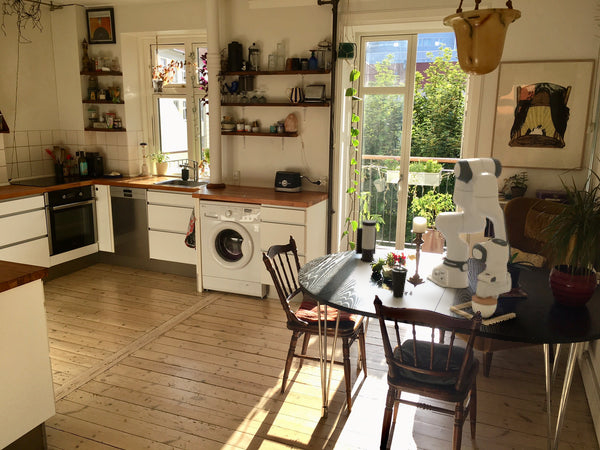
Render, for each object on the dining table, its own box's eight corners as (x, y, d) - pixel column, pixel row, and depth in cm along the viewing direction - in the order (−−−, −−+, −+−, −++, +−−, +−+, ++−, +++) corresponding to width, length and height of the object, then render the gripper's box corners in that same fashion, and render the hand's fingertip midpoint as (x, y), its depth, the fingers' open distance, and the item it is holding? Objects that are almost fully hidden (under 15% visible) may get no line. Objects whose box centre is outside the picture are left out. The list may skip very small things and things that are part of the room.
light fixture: (358, 262, 296) (360, 222, 291) (355, 257, 307) (357, 218, 301) (378, 262, 297) (380, 222, 292) (374, 257, 308) (376, 218, 302)
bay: (449, 309, 226) (449, 306, 226) (478, 302, 236) (479, 299, 236) (485, 326, 210) (485, 322, 209) (515, 317, 220) (515, 313, 219)
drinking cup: (387, 294, 245) (389, 255, 240) (400, 292, 247) (403, 254, 243) (395, 299, 238) (397, 259, 233) (408, 297, 240) (411, 258, 236)
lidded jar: (467, 315, 220) (469, 296, 218) (473, 308, 229) (475, 289, 226) (492, 321, 214) (494, 301, 212) (497, 313, 223) (500, 294, 221)
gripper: (504, 269, 230) (501, 297, 233) (475, 276, 220) (472, 305, 223) (516, 273, 225) (512, 301, 228) (487, 280, 215) (483, 309, 218)
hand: (492, 303), depth 225 cm, fingers closed
